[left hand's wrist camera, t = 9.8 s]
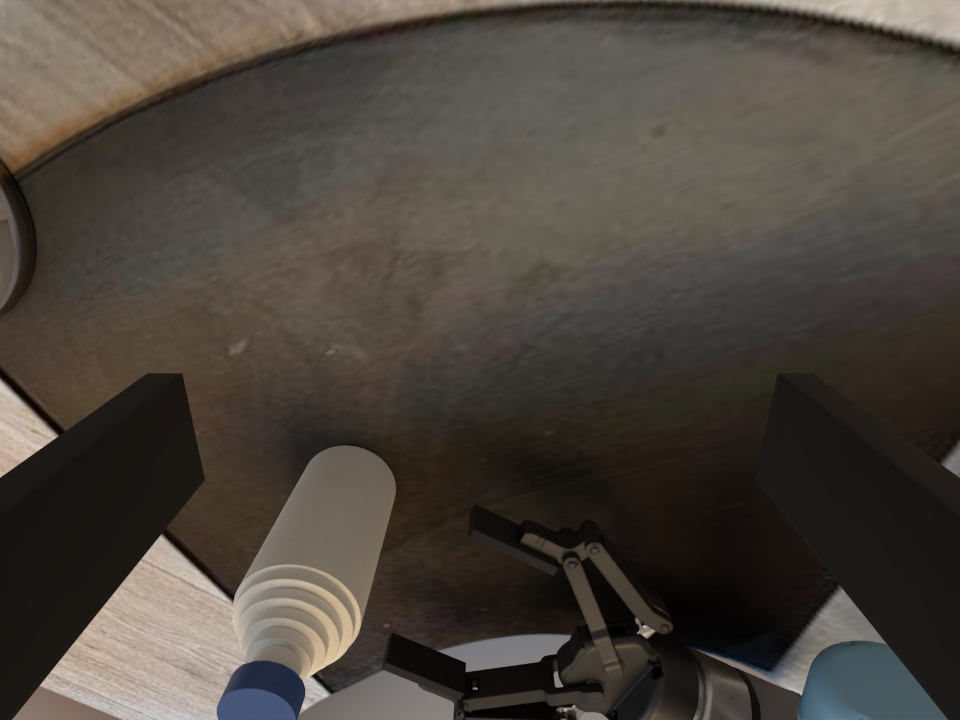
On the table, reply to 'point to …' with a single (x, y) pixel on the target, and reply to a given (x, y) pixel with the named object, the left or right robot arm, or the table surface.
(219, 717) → the cap
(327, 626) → the bottle
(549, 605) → the table surface
